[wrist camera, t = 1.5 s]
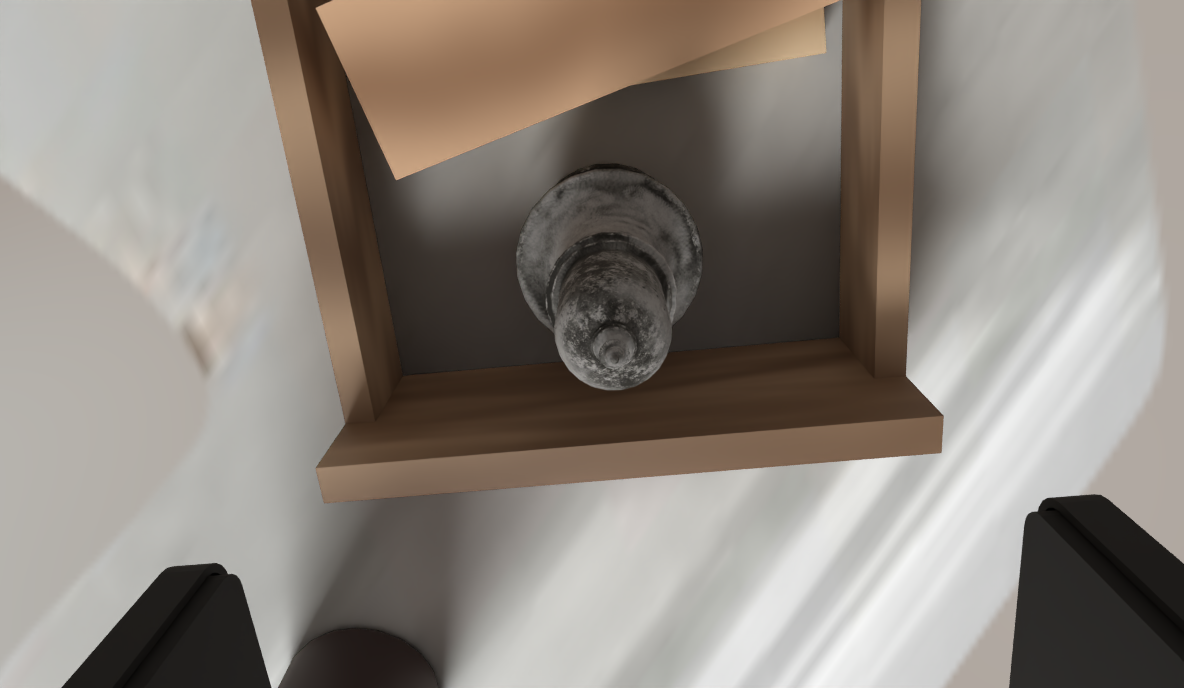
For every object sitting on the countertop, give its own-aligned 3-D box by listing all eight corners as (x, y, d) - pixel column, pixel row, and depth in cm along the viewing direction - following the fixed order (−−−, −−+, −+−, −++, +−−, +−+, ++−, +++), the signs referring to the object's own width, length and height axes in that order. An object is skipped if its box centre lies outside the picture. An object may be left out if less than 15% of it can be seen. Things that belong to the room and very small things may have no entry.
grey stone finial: (680, 142, 27) (739, 204, 16) (699, 305, 29) (762, 463, 18) (511, 168, 28) (451, 248, 16) (540, 328, 30) (505, 497, 18)
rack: (294, -26, 25) (188, -54, 19) (876, -89, 25) (976, -141, 18) (386, 425, 31) (329, 526, 24) (865, 384, 30) (939, 477, 24)
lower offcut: (363, -37, 26) (340, -46, 24) (795, -114, 25) (816, -132, 23) (400, 120, 28) (382, 126, 25) (806, 53, 27) (826, 53, 24)
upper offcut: (343, 12, 24) (315, 7, 22) (789, -184, 22) (811, -212, 20) (414, 169, 26) (395, 180, 23) (836, -3, 24) (862, -9, 22)
